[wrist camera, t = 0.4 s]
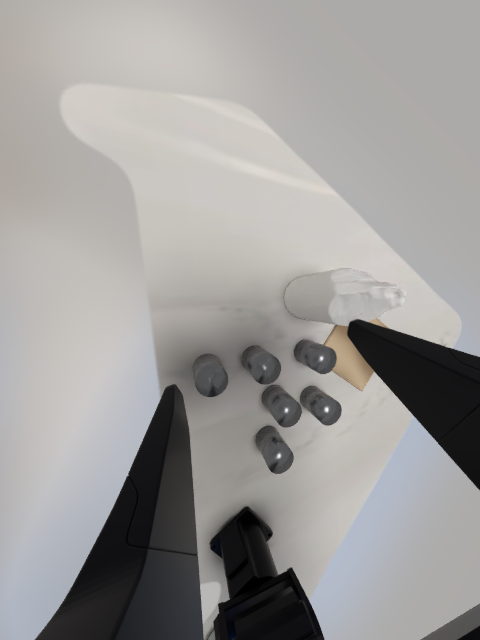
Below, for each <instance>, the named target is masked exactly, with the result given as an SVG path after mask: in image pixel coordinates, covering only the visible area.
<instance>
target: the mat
mask: <svg viewBox="0 0 480 640" xmlns="http://www.w3.org/2000/svg"><path fill="white" fill-rule="evenodd" d="M369 322H370V323H373V324H376V325H379V326H382V327H385V328H388V327H386V326H385V325H384V324H383V323H382V322H381V321H380V320H379V319H378V318H376V319H374V320H371V321H369ZM388 329H389V328H388ZM347 330H348V326H341V325H336V326H335V327H334V329H333V331H332V332H331V334H330V335H329V337H328V339H327V340H326V342H325V343H324V346H327V347H330V348H332V349H333V350H334V351H335V353H336V356H337V361H336V365H335V367H334V368H333V369H332V371H334V372H335V373H336V374H338V375H339V376H341V377H342V378H344V379H345V380H346V381H348V382H349V383H351V384H352V385H354V386H355V387H356V388H358V389H359V390H361V391H363V389H364V387H365V386H366V384H367V382H368V381H369V379H370V377H371V376H372V374H373V372H374V370H373V369H372V368H371V367H370V366H369V365H368V363H367V362H366V361H365V360H364V359H363V357H362V356H361V354H360V353H359V352H358V350H357V349H356V347H355V346H354V345H353V343H352V342H351V341H350V339H349V338H348V336H347Z"/></svg>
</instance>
